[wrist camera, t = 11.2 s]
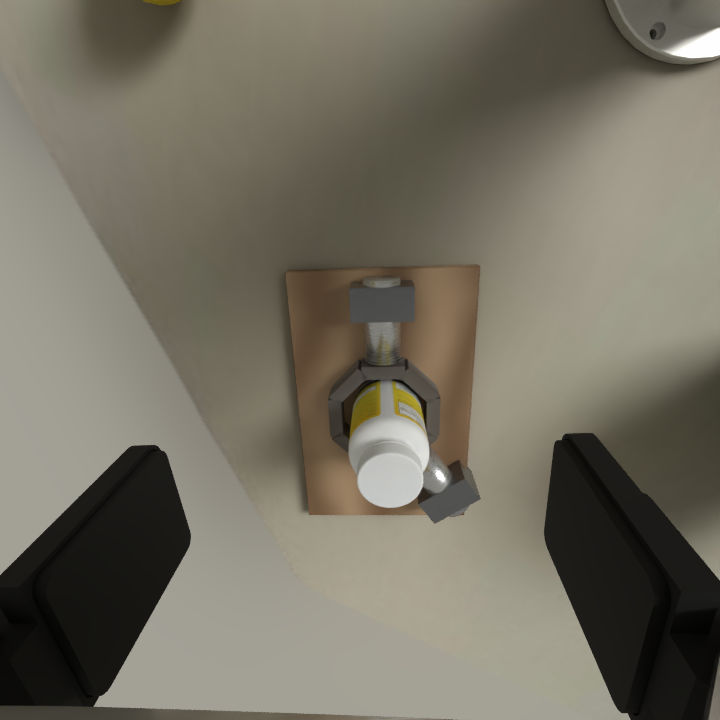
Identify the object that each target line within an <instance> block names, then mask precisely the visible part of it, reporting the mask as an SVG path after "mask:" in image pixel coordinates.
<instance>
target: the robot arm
mask: <svg viewBox="0 0 720 720" xmlns="http://www.w3.org/2000/svg"><path fill="white" fill-rule="evenodd" d="M605 2H606V4H607V7H608V10H609V13H610V16H611V18H612V19H613V21H614V23H615V24H616V26H617V28H618V29H619V31H620V33H621V34H622V35H623V36H624V37H625V38H626V39H627V40H628V41H629V42H630V43H631V44H632V45H633V46H634V47H635V48H636V49H638V50H639V51H641V52H643V53H644V54H646V55H648V56H649V57H651V58H653V59H657V60H660V61H663V62H667V63H671V64H689V65H690V64H696V63H703V62H709V61H713V60H715V59H718V58H720V0H605ZM650 32H651V34H652V38H651V37H650ZM544 536H545V542H546V546H547V549H548V551H549V553H550V556H551V558H552V560H553V563H554V565H555V567H556V569H557V572H558V574H559V576H560V579H561V581H562V583H563V586H564V588H565V590H566V593H567V595H568V597H569V600H570V602H571V604H572V607H573V609H574V611H575V614H576V616H577V618H578V621H579V623H580V625H581V628H582V630H583V632H584V635H585V637H586V639H587V641H588V644H589V646H590V648H591V651H592V653H593V655H594V658H595V660H596V662H597V665H598V667H599V669H600V672H601V674H602V676H603V679H604V681H605V683H606V686H607V688H608V690H609V693H610V695H611V697H612V700H613V702H614V704H615V706H616V707H617V709H618V710H619V711H620V712H621V713H628V715H629V717H630V719H631V720H720V580H719V579H718V578H717V577H716V576H715V574H714V573H713V572H712V571H711V570H710V568H709V567H708V566H707V565H706V564H705V562H704V561H703V560H702V559H701V558H700V556H699V555H698V554H697V553H696V552H695V550H694V549H693V548H692V547H691V546H690V544H689V543H688V542H687V541H686V540H685V538H684V537H683V536H682V535H681V534H680V532H679V531H678V530H677V529H676V528H675V526H674V525H673V524H672V523H671V522H670V520H669V519H668V518H667V517H666V516H665V514H664V513H663V512H662V511H661V510H660V508H659V507H658V506H657V505H656V504H655V502H654V501H653V500H652V499H651V498H650V497H649V496H648V495H647V494H644V493H642V492H641V491H640V489H639V488H638V487H637V486H636V484H635V483H634V482H633V481H632V480H631V478H630V477H629V476H628V475H627V473H626V472H625V471H624V470H623V469H622V467H621V466H620V465H619V464H618V462H617V461H616V460H615V459H614V458H613V456H612V455H611V454H610V453H609V452H608V450H607V449H606V448H605V447H604V445H603V444H602V443H601V442H600V441H599V439H598V438H597V437H596V436H595V435H594V434H593V433H573V434H565V435H564V436H563V438H562V440H557V441H556V442H555V444H554V450H553V459H552V468H551V476H550V485H549V494H548V502H547V511H546V520H545V528H544ZM190 540H191V534H190V530H189V526H188V523H187V520H186V516H185V513H184V510H183V507H182V503H181V500H180V497H179V494H178V490H177V487H176V483H175V480H174V477H173V474H172V470H171V467H170V464H169V460H168V457H167V455H166V453H165V452H164V451H161V450H160V448H159V447H158V446H156V445H144V446H143V445H141V446H131V447H130V448H128V449H127V450H126V451H125V452H124V453H123V454H122V455H121V456H120V457H119V458H118V459H117V460H116V461H115V462H114V463H113V464H112V465H111V466H110V467H109V468H108V469H107V470H106V471H105V472H104V473H103V474H102V475H101V476H100V477H99V478H98V479H97V480H96V481H95V482H94V483H93V484H92V485H91V486H90V487H89V488H88V489H87V490H86V491H85V492H84V493H83V494H82V495H81V496H80V497H79V498H78V499H77V500H76V501H75V502H74V503H73V504H72V505H71V506H70V507H69V508H68V509H67V510H66V511H64V513H62V514H61V516H59V518H57V519H56V521H54V523H52V524H51V525H50V527H48V528H47V529H46V530H45V531H44V532H43V534H41V535H40V536H39V537H38V538H37V539H36V540H35V541H34V542H33V543H32V544H31V545H30V546H29V548H27V549H26V550H25V551H24V552H23V553H22V554H21V555H20V556H19V557H18V558H17V559H16V560H15V561H14V562H13V563H12V564H11V565H10V566H9V567H8V568H7V569H6V570H5V571H4V572H3V573H2V574H1V575H0V720H447V719H427V718H402V717H378V716H352V715H325V714H297V713H269V712H240V711H211V710H180V709H179V710H178V709H145V708H111V707H93V706H94V705H95V703H96V701H97V699H98V698H99V696H101V695H103V694H105V692H107V691H108V689H109V688H110V686H111V685H112V683H113V681H114V680H115V678H116V676H117V674H118V672H119V670H120V669H121V667H122V665H123V664H124V662H125V660H126V658H127V656H128V655H129V653H130V651H131V649H132V648H133V646H134V644H135V642H136V641H137V639H138V637H139V635H140V633H141V632H142V630H143V628H144V626H145V624H146V623H147V621H148V619H149V617H150V616H151V614H152V612H153V610H154V609H155V607H156V605H157V603H158V601H159V600H160V598H161V596H162V594H163V593H164V591H165V589H166V587H167V585H168V584H169V582H170V580H171V578H172V576H173V575H174V573H175V571H176V569H177V568H178V566H179V564H180V562H181V560H182V559H183V557H184V555H185V553H186V552H187V550H188V548H189V545H190ZM448 720H450V719H448Z"/></svg>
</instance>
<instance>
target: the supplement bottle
mask: <svg viewBox="0 0 720 720" xmlns="http://www.w3.org/2000/svg"><path fill="white" fill-rule="evenodd" d="M349 460H350V463H351V466H352V468H353V470H354V471H355V473H356V474H357V485H358V489H359V491H360V493H361V494H362V495H363V497H364V498H365V499H366V500H368V501H369V502H371V503H372V504H374V505H377V506H380V507H385V508H395V507H400V506H404V505H406V504H408V503H410V502H411V501H413V500H414V499H415V498H416V497H417V496H418V495H419V493H420V491H421V489H422V487H423V472H424V470H425V468H426V467H427V464H428V461H429V442H428V438H427V433H426V428H425V423H424V419H423V414H422V409H421V405H420V401H419V398H418V395H417V393H416V392H415V391H414V390H413V389H412V388H411V387H410V386H409V385H407V384H406V383H405V382H404V381H403V380H402V379H389V380H370V381H368V382H366V383H365V384H364V385H363V386H362V387H361V388H360V389H359V390H358V392H357V394H356V396H355V399H354V403H353V410H352V420H351V429H350V439H349Z"/></svg>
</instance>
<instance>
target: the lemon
mask: <svg viewBox="0 0 720 720" xmlns="http://www.w3.org/2000/svg"><path fill="white" fill-rule="evenodd" d="M142 1H144V2H147V3H152V4H156V5H171V4H175V3H178V2H180V1H182V0H142Z"/></svg>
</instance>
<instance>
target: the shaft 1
mask: <svg viewBox="0 0 720 720" xmlns="http://www.w3.org/2000/svg"><path fill="white" fill-rule="evenodd" d="M349 300H350V322H351V323H364V326H365V356H366V362H368V363H369V364H372V365H379V366H386V365H393V364H396V363H398V362H399V361H400V360H401V322H415V286H414V283H413V281H412V280H400V277H399V276H393V275H375V276H368V277H365V278H363V281H353V282H351V284H350V287H349Z"/></svg>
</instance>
